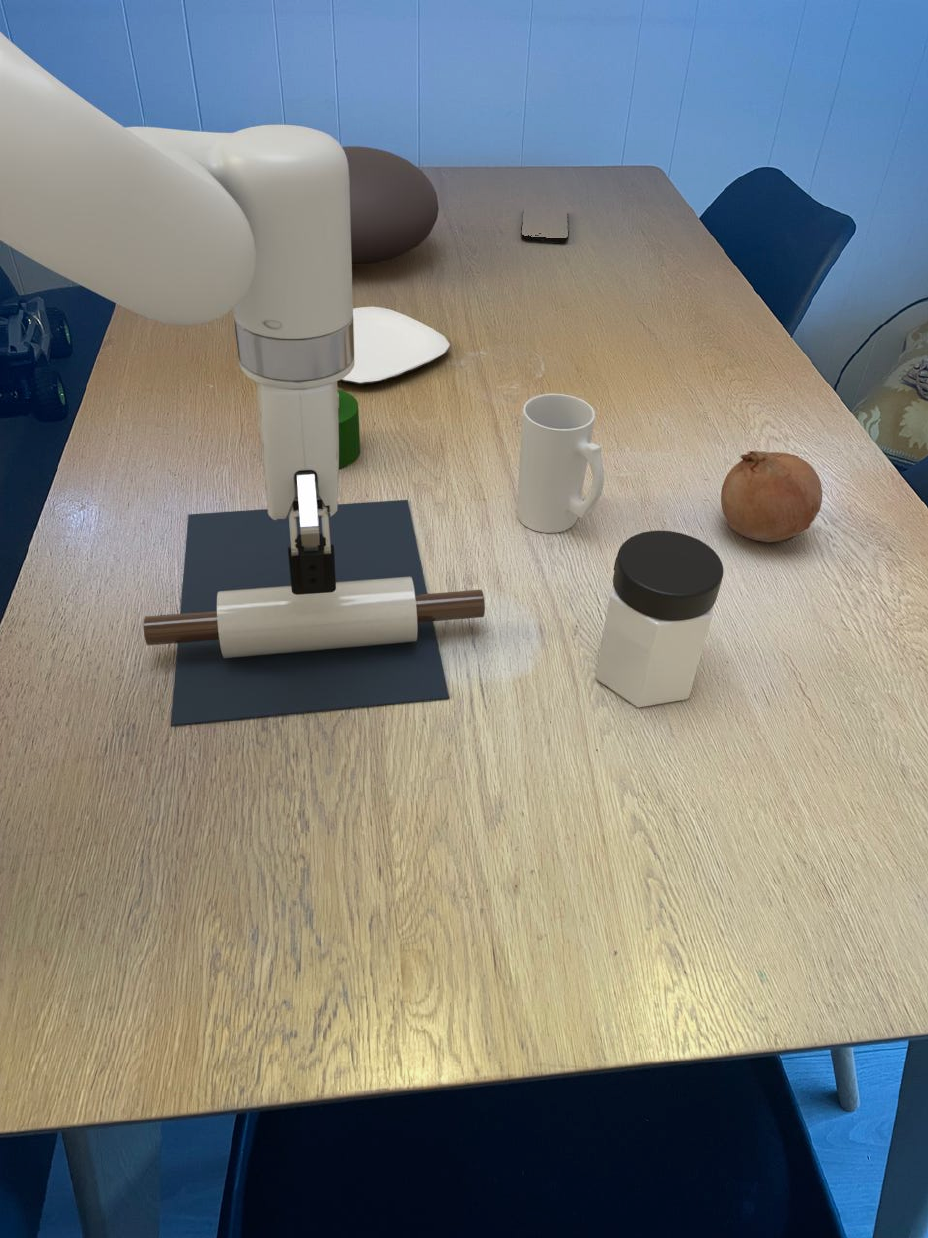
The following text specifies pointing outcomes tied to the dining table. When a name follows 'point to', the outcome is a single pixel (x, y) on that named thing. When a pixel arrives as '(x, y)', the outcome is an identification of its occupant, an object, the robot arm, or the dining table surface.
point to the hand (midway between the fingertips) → (311, 550)
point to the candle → (348, 429)
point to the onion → (771, 496)
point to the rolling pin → (314, 617)
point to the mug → (557, 463)
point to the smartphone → (544, 239)
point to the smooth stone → (387, 205)
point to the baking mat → (310, 680)
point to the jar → (658, 616)
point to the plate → (390, 345)
